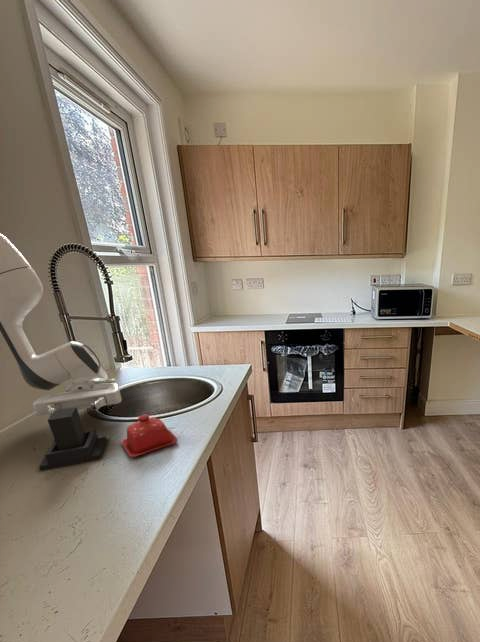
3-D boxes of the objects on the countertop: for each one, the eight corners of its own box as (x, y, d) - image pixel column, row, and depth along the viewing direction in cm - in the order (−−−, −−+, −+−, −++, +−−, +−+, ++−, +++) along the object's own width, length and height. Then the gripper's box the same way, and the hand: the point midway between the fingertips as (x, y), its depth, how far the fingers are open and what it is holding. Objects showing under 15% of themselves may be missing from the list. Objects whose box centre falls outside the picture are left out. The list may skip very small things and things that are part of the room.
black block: (61, 458, 82) (47, 420, 79) (67, 446, 88) (54, 410, 84) (83, 453, 84) (70, 416, 80) (88, 442, 89) (76, 407, 85)
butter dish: (121, 444, 91) (112, 415, 88) (166, 430, 98) (160, 402, 94) (131, 462, 83) (122, 430, 79) (180, 446, 89) (174, 416, 86)
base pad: (41, 471, 80) (35, 457, 78) (53, 451, 88) (48, 437, 87) (100, 460, 84) (96, 445, 82) (107, 441, 93) (103, 428, 91)
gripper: (38, 388, 97) (20, 406, 86) (120, 377, 104) (114, 392, 93) (46, 408, 100) (29, 428, 88) (125, 397, 107) (120, 414, 95)
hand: (73, 410), depth 90 cm, fingers open, 8 cm apart
